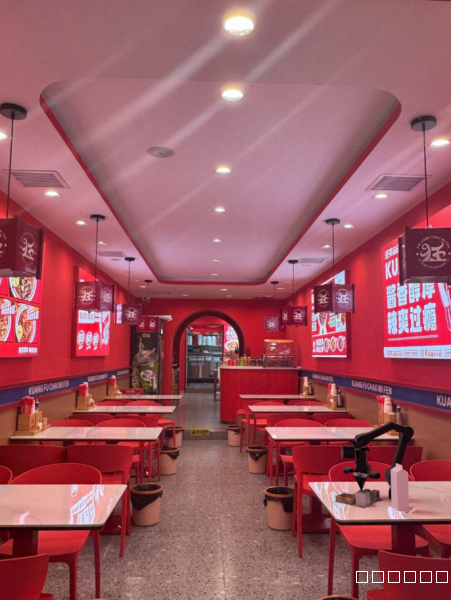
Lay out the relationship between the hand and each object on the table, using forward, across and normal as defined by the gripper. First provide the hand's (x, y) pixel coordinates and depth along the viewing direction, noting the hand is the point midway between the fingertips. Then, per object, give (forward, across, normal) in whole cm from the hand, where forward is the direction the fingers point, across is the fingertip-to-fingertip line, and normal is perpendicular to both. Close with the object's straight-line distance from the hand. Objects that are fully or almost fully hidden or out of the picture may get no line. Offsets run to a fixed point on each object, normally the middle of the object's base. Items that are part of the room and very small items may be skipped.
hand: (361, 489), depth 249 cm
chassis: (+5, -2, +7) cm, 9 cm away
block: (+4, -7, +13) cm, 15 cm away
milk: (+5, -23, +6) cm, 24 cm away
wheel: (+3, -4, 0) cm, 6 cm away
